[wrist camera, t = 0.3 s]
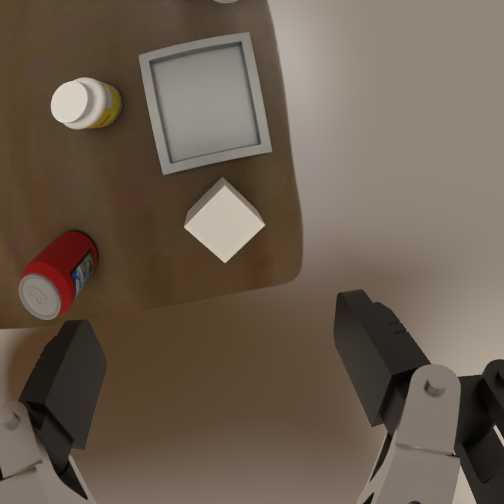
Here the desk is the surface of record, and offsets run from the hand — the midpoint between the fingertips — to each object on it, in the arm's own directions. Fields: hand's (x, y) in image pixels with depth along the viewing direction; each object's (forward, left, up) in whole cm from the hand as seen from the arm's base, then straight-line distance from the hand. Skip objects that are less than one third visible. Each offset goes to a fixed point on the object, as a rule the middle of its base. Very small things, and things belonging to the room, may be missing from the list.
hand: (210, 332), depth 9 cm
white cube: (+4, +1, -29) cm, 29 cm away
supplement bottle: (-12, -11, -29) cm, 33 cm away
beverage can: (+5, -20, -29) cm, 35 cm away
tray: (-9, +1, -29) cm, 30 cm away
